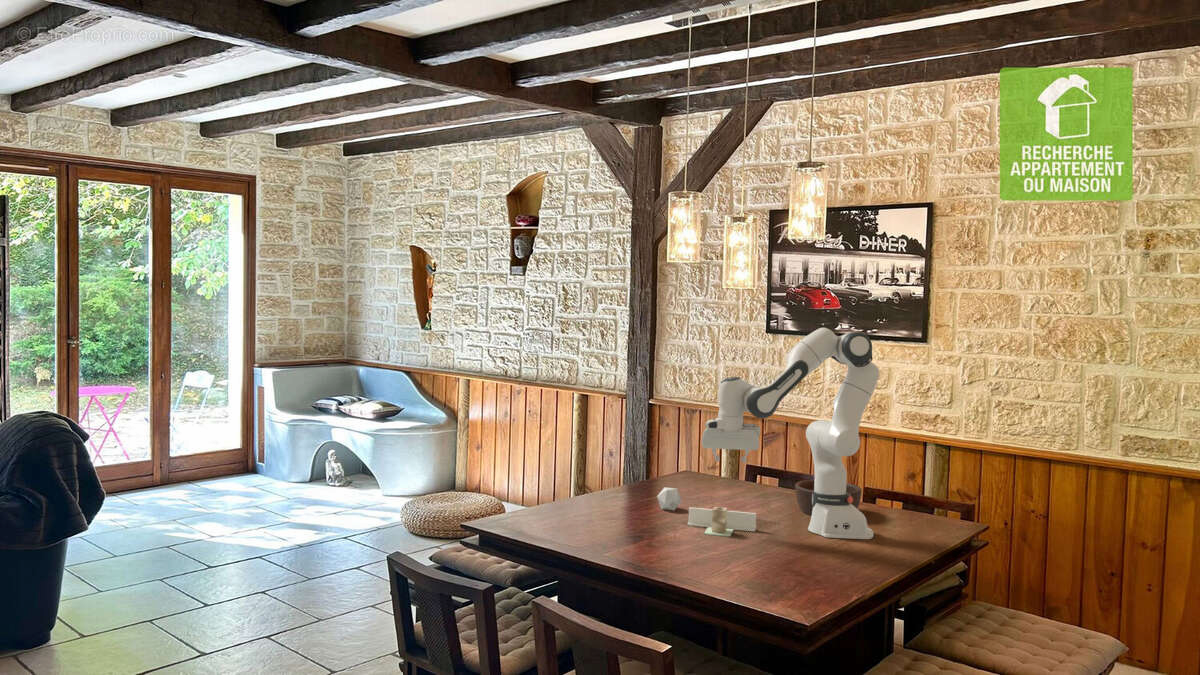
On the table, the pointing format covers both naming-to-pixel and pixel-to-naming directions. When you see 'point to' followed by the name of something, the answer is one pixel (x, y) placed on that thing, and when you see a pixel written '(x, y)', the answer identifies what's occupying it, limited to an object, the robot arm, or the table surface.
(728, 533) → the sage mat
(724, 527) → the birch block
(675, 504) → the die
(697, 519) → the white shelf
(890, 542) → the table surface
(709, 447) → the robot arm
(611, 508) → the table surface
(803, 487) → the wooden bowl
